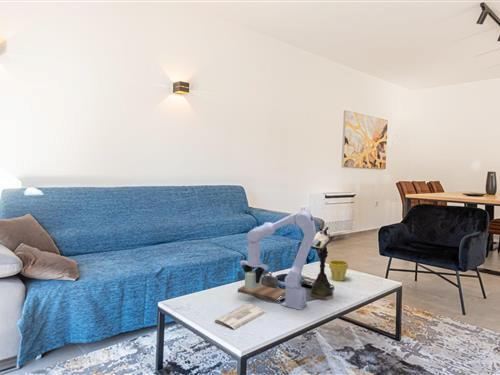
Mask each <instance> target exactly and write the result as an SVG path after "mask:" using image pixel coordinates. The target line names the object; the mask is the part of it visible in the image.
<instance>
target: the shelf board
mask: <svg viewBox="0 0 500 375" xmlns="http://www.w3.org/2000/svg"><path fill="white" fill-rule="evenodd" d="M262 277H263V284H261V285H259V286H258V287H256V288H254V289H253V290H251V289H247V288H245V284H243V285H242V286H241V287H239V288H237V292H238V293H241V294H246V295H250V296H253V297H258V298H262V299H266V300H269V301H274V302H277V299H278V298H279V297H280V296H283V297H285V296H284V295H285V288H281V287H278V282H279V281H278V280H279V277H277V276H273V275H272V276H270V275H269V274H268V275H267V274H266V275H264V274H262Z"/></svg>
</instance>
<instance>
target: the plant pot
mask: <svg viewBox="0 0 500 375" xmlns="http://www.w3.org/2000/svg"><path fill="white" fill-rule="evenodd" d="M328 265H329V266H328V268H329V269H330V273H331V278H332V280H333V281H337V282H342V281H345V278H346V274H347V270H348V268H349V264H348V262H347V261H344V260H340V259H339V260H338V259H337V260H335V259H333V260H330V261H329V264H328Z"/></svg>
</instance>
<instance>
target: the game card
mask: <svg viewBox="0 0 500 375" xmlns="http://www.w3.org/2000/svg"><path fill="white" fill-rule="evenodd" d="M262 274H263V275H268V276H273V275H272V271H271V270H270V271H263V273H262ZM262 284H263V276H262Z"/></svg>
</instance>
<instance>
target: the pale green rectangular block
mask: <svg viewBox="0 0 500 375" xmlns="http://www.w3.org/2000/svg"><path fill="white" fill-rule="evenodd" d="M255 269H256V268H254V269H253V268H252V270H251V271H249V272H247V273H244V285H245V288H247V289H251V290H253V289H254V288H256V287H258V286H259V285H261V284H262V277H263V274H262V275H261V278H260V282H259V283H256V273H255Z"/></svg>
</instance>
